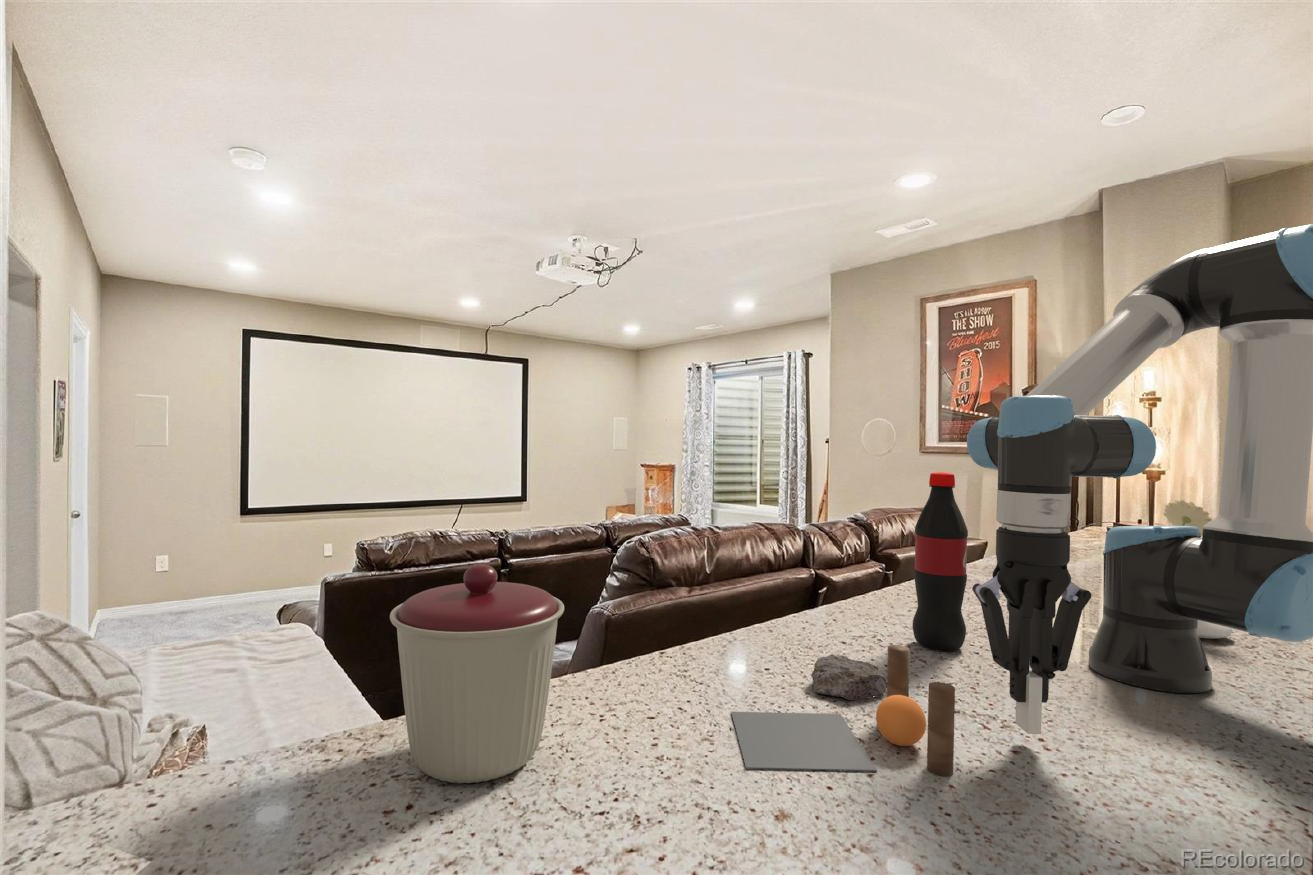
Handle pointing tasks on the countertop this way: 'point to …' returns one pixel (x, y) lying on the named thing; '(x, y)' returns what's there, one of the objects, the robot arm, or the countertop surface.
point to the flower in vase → (1195, 516)
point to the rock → (847, 678)
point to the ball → (901, 720)
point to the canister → (476, 674)
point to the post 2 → (940, 728)
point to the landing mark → (799, 742)
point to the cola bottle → (940, 568)
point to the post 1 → (898, 670)
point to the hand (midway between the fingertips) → (1028, 728)
